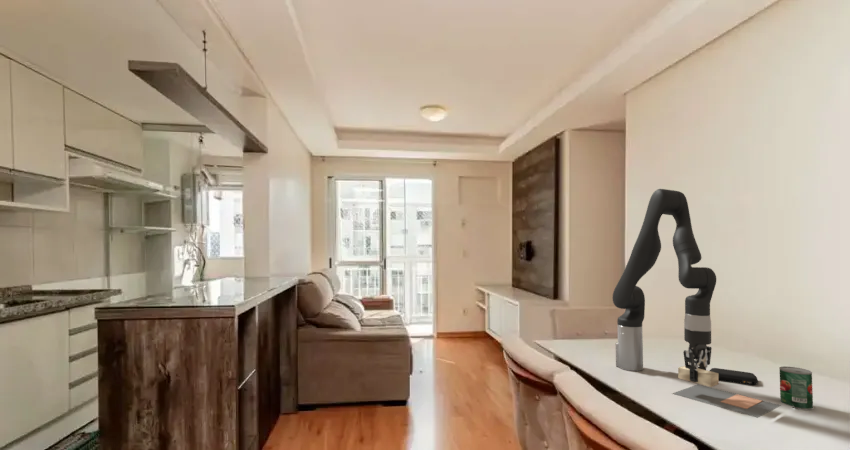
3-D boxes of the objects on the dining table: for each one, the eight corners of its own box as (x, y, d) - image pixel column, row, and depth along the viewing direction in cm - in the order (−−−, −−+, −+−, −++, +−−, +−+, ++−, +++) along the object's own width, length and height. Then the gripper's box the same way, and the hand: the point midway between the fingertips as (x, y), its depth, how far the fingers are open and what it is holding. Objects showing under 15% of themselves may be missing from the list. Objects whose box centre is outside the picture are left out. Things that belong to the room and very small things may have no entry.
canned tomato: (773, 400, 140) (772, 366, 141) (798, 400, 140) (797, 366, 141) (793, 409, 132) (792, 373, 133) (820, 410, 132) (819, 373, 133)
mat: (671, 395, 145) (671, 393, 145) (698, 385, 155) (698, 383, 155) (757, 419, 125) (757, 416, 125) (781, 407, 135) (781, 404, 135)
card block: (678, 378, 145) (678, 367, 145) (685, 375, 148) (685, 365, 148) (711, 386, 137) (711, 375, 137) (718, 384, 140) (718, 373, 140)
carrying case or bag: (709, 381, 161) (759, 388, 153) (709, 372, 161) (758, 379, 153) (709, 374, 170) (756, 380, 162) (709, 366, 170) (756, 372, 162)
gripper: (696, 323, 150) (696, 373, 150) (674, 328, 142) (674, 380, 142) (720, 327, 144) (720, 379, 143) (699, 332, 136) (699, 387, 135)
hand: (697, 379), depth 143 cm, fingers closed on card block, 5 cm apart
